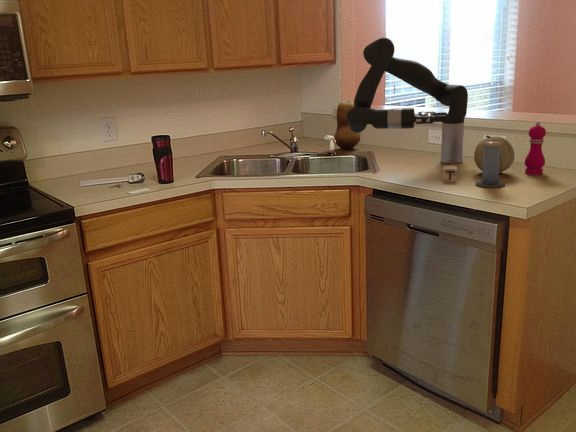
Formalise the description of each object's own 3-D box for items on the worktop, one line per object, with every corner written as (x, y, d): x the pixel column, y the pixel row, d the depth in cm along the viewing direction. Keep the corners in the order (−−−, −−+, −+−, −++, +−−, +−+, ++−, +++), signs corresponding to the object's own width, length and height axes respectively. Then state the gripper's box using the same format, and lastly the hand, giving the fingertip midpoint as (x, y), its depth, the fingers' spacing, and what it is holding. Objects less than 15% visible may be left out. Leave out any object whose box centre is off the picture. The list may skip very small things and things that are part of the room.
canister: (480, 181, 197) (483, 141, 193) (497, 181, 195) (500, 141, 191) (481, 184, 192) (484, 143, 188) (498, 185, 190) (501, 143, 186)
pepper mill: (544, 172, 209) (548, 120, 204) (544, 175, 203) (548, 122, 198) (524, 171, 212) (528, 120, 207) (523, 175, 206) (527, 122, 200)
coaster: (475, 181, 200) (475, 180, 199) (503, 182, 197) (503, 180, 197) (475, 187, 191) (475, 186, 190) (505, 188, 188) (506, 186, 187)
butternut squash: (354, 152, 274) (353, 102, 267) (330, 150, 280) (329, 102, 273) (364, 147, 285) (364, 99, 278) (341, 146, 292) (340, 100, 285)
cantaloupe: (514, 177, 202) (517, 138, 198) (473, 177, 207) (475, 138, 202) (511, 169, 216) (513, 132, 212) (472, 169, 220) (474, 133, 216)
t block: (443, 178, 207) (443, 166, 206) (456, 178, 206) (457, 166, 204) (443, 181, 202) (443, 168, 201) (456, 182, 201) (457, 168, 200)
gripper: (398, 110, 190) (446, 108, 185) (402, 106, 203) (447, 104, 198) (399, 131, 192) (446, 130, 187) (402, 125, 205) (446, 124, 200)
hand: (446, 116), depth 193 cm, fingers open, 8 cm apart
